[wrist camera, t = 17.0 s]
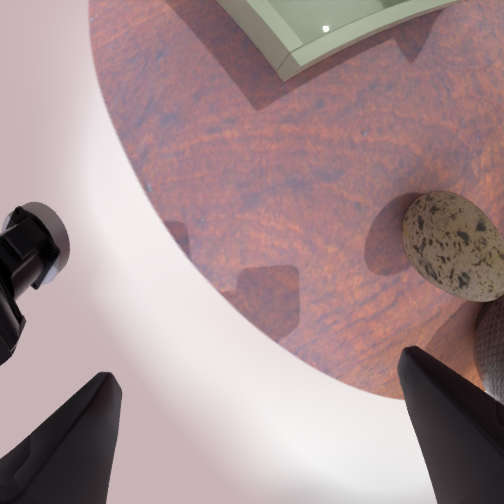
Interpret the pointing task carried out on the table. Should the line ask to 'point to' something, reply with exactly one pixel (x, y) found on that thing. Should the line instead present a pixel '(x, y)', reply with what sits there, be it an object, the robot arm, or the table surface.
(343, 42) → the chest
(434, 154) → the table surface
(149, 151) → the table surface
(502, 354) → the planter
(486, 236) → the decorative egg
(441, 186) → the table surface
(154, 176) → the table surface
